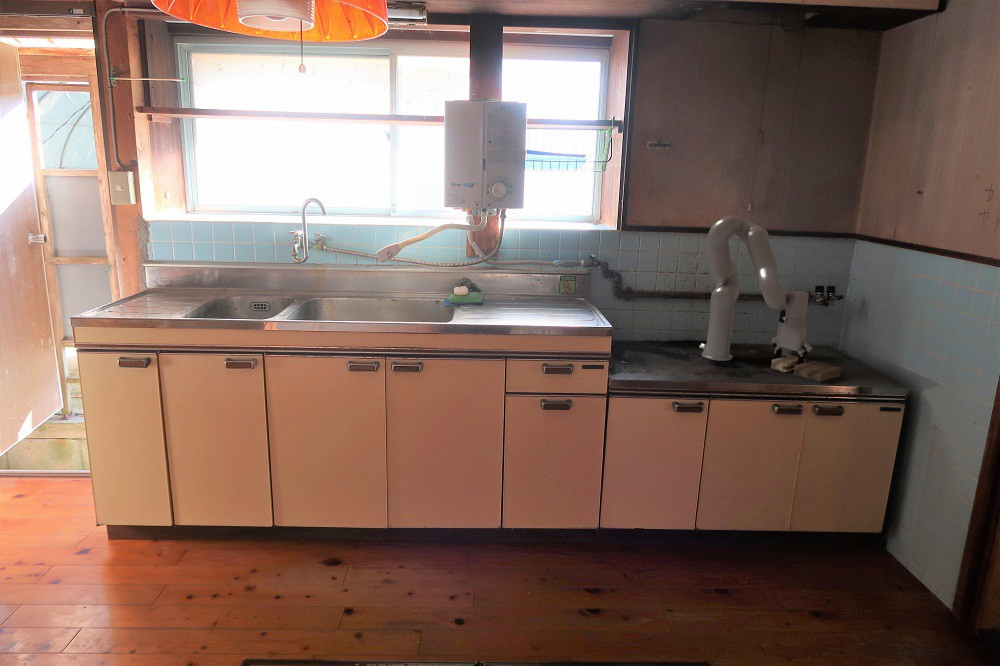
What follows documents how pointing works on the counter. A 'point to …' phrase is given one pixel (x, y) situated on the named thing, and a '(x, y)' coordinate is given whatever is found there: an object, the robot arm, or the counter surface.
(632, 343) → the counter surface
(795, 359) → the maple plank
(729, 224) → the robot arm
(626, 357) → the counter surface
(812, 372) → the brown grooved flat slab
